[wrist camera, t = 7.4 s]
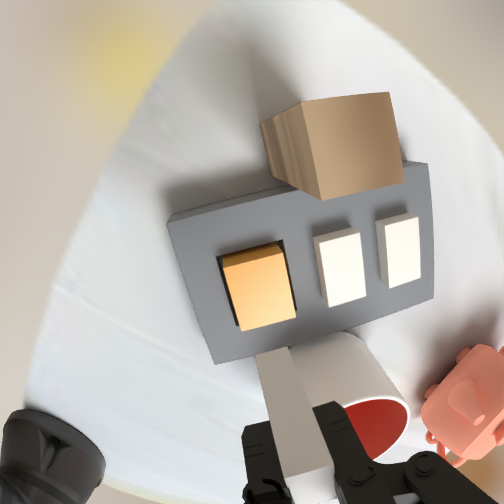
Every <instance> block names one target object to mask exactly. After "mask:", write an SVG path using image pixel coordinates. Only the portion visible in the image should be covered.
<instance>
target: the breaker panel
mask: <svg viewBox="0 0 504 504" xmlns="http://www.w3.org/2000/svg"><path fill="white" fill-rule="evenodd" d="M402 165H403V172H404V179H405V182H404V183H400V184H395V185H390V186H386V187H381V188H376V189H372V190H367V191H363V192H358V193H354V194H349V195H345V196H341V197H336V198H332V199H328V200H323V201H321V200H319V199H317V198H315V197H313V196H311V195H309V194H307V193H305V192H303V191H301V190H299V189H297V188H296V187H294V186H292V185H287V186H282V187H278V188H274V189H270V190H265V191H261V192H257V193H253V194H249V195H245V196H241V197H237V198H233V199H229V200H225V201H221V202H217V203H214V204H210V205H206V206H202V207H199V208H195V209H191V210H188V211H184V212H180V213H177V214H173V215H172V216H171V217H170V219H169V220H168V222H167V223H166V225H167V228H168V231H169V234H170V238H171V241H172V244H173V247H174V250H175V254H176V257H177V260H178V263H179V266H180V269H181V272H182V275H183V278H184V281H185V284H186V287H187V290H188V293H189V296H190V299H191V302H192V304H193V307H194V310H195V313H196V316H197V319H198V321H199V324H200V327H201V330H202V332H203V335H204V338H205V340H206V343H207V346H208V348H209V351H210V354H211V356H212V359H213V362H214V364H215V365H216V364H221V363H225V362H230V361H234V360H238V359H242V358H247V357H251V356H254V355H258V354H261V353H265V352H269V351H273V350H276V349H280V348H283V347H289V346H293V345H296V344H300V343H303V342H307V341H310V340H314V339H317V338H320V337H324V336H327V335H330V334H333V333H337V332H340V331H343V330H346V329H349V328H352V327H355V326H358V325H361V324H364V323H367V322H370V321H373V320H376V319H379V318H382V317H385V316H387V315H390V314H393V313H396V312H398V311H401V310H404V309H406V308H409V307H412V306H414V305H417V304H420V303H422V302H425V301H427V300H430V299H432V298H433V295H434V236H433V216H432V201H431V190H430V180H429V171H428V164H427V163H420V162H413V161H404V162H402ZM274 241H278V243H279V247H280V249H281V251H282V252H283V256H284V260H285V265H286V270H287V275H288V280H289V284H290V289H291V294H292V299H293V304H294V309H295V314H296V317H295V318H292V319H288V320H284V321H281V322H277V323H273V324H269V325H266V326H262V327H258V328H254V329H250V330H246V331H241V328H240V325H239V321H238V318H237V315H236V311H235V308H234V307H233V304H232V300H231V297H230V294H229V290H228V287H227V283H226V280H225V276H224V273H223V269H222V266H221V262H220V259H219V255H223V254H227V253H231V252H235V251H239V250H243V249H247V248H251V247H254V246H258V245H262V244H266V243H270V242H274Z"/></svg>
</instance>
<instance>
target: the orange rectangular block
mask: <svg viewBox="0 0 504 504" xmlns="http://www.w3.org/2000/svg"><path fill="white" fill-rule="evenodd" d="M222 261H223V270H224V273H225V277H226V280H227V284H228V287H229V291H230V294H231V298H232V301H233V304H234V308H235V311H236V315H237V318H238V321H239V325H240V328H241V331H246V330H250V329H254V328H258V327H262V326H266V325H269V324H273V323H277V322H281V321H284V320H288V319H292V318H295V317H296V314H295V309H294V304H293V299H292V294H291V289H290V284H289V280H288V275H287V270H286V265H285V260H284V256H283V252H282V251H281V249H280V247H279V246H278V244H277V243H276V241H274V242H270V243H266V244H262V245H258V246H254V247H251V248H247V249H243V250H239V251H235V252H231V253H227V254H223V255H222Z"/></svg>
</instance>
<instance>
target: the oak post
mask: <svg viewBox="0 0 504 504" xmlns="http://www.w3.org/2000/svg"><path fill="white" fill-rule="evenodd" d="M260 128H261V132H262V136H263V141H264V145H265V149H266V154H267V158H268V162H269V167H270V171H271V175H272V176H273V177H275V178H277V179H280V180H282V181H284V182H286V183H288V184H290V185H292V186H294V187H296V188H297V189H299V190H301V191H303V192H305V193H307V194H309V195H311V196H313V197H315V198H317V199H319V200H321V201H323V200H328V199H332V198H336V197H341V196H345V195H349V194H354V193H358V192H363V191H367V190H372V189H376V188H381V187H386V186H390V185H395V184H400V183H404V182H405V179H404V172H403V165H402V158H401V151H400V145H399V139H398V133H397V128H396V123H395V118H394V113H393V108H392V103H391V98H390V94H389V92H380V93H368V94H358V95H349V96H340V97H332V98H325V99H317V100H311V101H304V102H300V103H298V104H296V105H294V106H292V107H290V108H288V109H287V110H285V111H283V112H281V113H279V114H277V115H276V116H274V117H272V118H270V119H268V120H266V121H265V122H263V123H261V124H260Z"/></svg>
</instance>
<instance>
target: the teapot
mask: <svg viewBox="0 0 504 504" xmlns="http://www.w3.org/2000/svg"><path fill="white" fill-rule="evenodd" d="M456 363H457V365H456V366H455V367H454V368H453V369H452V370H451V371H450V373H449V374H448V375H447V376H446V377H445V378H444V379H443V381H442V382H441V383H440V384H433V385H432V386H430V387H429V388H428V389H427V390H426V391H425V393H424V397H425V398H427V400H426V401H425V403H424V404H423V406H422V408H421V416H422V420H423V423H424V424H425V426H426V427H427V428H428V431H427V433H426V441H427V442H428V443H429V444H435V443H436V442H437V454H439V455H440V456H441V457H442V458H444V459H445V460H446V456H445V447H447V448H448V449H449V450H451V451H452V452H453V453H455V454H456V455H458V456H460V458H459V459H458V460H457V461H455V462H452V463H450V464H451V465H452V466H453V467H454V468H456V467H459V466H460V465H462V464H463V463H464V462H465V461H466V460H467V459H481V458H482V457H483V456H485V455H486V454H487V453H488V452H489V451H490V450H492V448H494V447H495V446H496V445H497V446H500V445H502V444H503V443H504V346H503V347H502V348H501V349H500V351H499V352H498V351H496V350H495V349H494V348H492V347H490V346H487V345H484V344H477V345H476V346H474V347H473V348H472V349H471V350H470V348H469V347H465V348H463V349H462V350H461V351H460V352H459V353H458V355H457V357H456ZM432 436H434V437H435V438H434V439H432ZM444 446H445V447H444ZM446 461H447V460H446ZM447 462H448V461H447ZM448 463H449V462H448Z"/></svg>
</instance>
